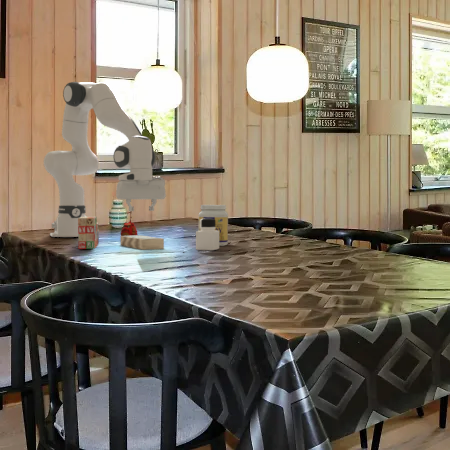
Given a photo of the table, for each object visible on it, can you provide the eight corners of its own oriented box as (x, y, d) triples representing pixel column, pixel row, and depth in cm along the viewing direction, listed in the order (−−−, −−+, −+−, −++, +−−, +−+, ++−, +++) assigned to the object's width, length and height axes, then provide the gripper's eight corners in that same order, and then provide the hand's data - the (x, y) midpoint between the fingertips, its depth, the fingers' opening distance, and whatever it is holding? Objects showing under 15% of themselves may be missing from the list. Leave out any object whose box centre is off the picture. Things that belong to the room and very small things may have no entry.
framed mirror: (120, 245, 270) (120, 235, 270) (140, 244, 275) (140, 235, 274) (142, 249, 250) (142, 239, 250) (163, 248, 255) (163, 238, 255)
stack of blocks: (84, 244, 276) (83, 215, 275) (99, 244, 276) (98, 215, 276) (78, 249, 254) (77, 217, 254) (94, 248, 255) (94, 217, 254)
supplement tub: (201, 247, 261) (201, 205, 261) (196, 245, 273) (196, 204, 273) (230, 246, 264) (230, 205, 263) (224, 244, 276) (224, 204, 275)
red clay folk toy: (117, 243, 282) (117, 208, 282) (125, 242, 289) (125, 208, 288) (132, 243, 280) (132, 208, 279) (141, 242, 286) (140, 208, 285)
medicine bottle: (219, 249, 254) (219, 218, 253) (213, 250, 247) (213, 218, 246) (202, 248, 256) (202, 217, 255) (195, 249, 249) (195, 218, 249)
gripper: (161, 176, 269) (161, 210, 270) (114, 176, 259) (114, 211, 259) (168, 176, 264) (168, 210, 264) (120, 175, 253) (120, 211, 254)
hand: (141, 210), depth 262 cm, fingers open, 7 cm apart
